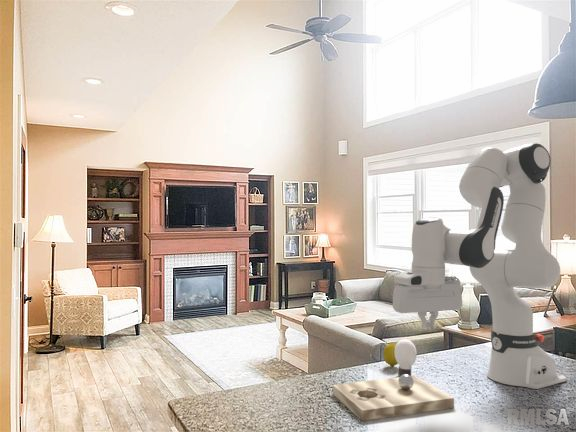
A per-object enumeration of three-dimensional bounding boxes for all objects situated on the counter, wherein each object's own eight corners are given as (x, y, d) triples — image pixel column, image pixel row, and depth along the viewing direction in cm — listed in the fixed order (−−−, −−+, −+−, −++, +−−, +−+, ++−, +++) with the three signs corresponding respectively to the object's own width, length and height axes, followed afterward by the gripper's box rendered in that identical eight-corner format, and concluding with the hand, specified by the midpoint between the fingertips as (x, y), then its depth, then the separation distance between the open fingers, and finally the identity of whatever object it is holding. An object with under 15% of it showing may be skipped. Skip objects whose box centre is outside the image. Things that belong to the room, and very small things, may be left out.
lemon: (401, 370, 149) (401, 345, 149) (383, 369, 150) (383, 344, 150) (400, 364, 155) (400, 340, 155) (383, 363, 156) (383, 339, 156)
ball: (408, 386, 128) (408, 371, 128) (416, 391, 124) (416, 376, 124) (395, 387, 127) (395, 372, 127) (403, 392, 123) (403, 377, 123)
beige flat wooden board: (414, 384, 137) (414, 375, 137) (454, 407, 119) (454, 397, 119) (332, 394, 129) (332, 385, 129) (362, 420, 111) (362, 410, 111)
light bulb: (389, 373, 146) (389, 338, 146) (406, 370, 149) (406, 335, 149) (404, 379, 140) (404, 343, 140) (421, 376, 143) (421, 340, 143)
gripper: (452, 274, 134) (452, 322, 134) (389, 276, 128) (389, 327, 128) (467, 277, 128) (467, 327, 128) (402, 279, 122) (402, 332, 122)
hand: (428, 327), depth 128 cm, fingers closed
